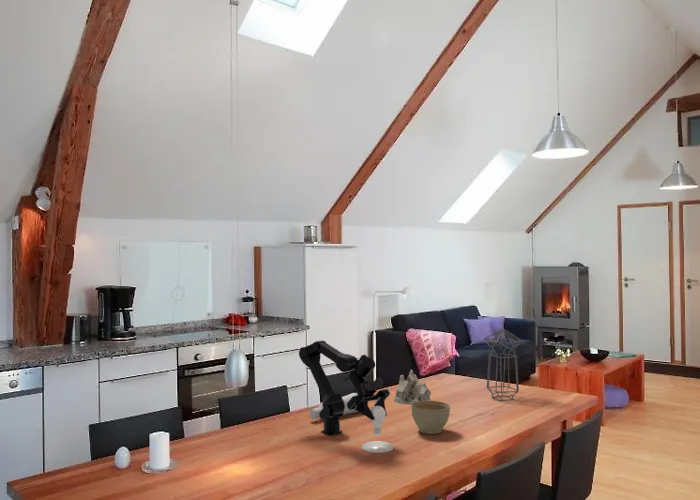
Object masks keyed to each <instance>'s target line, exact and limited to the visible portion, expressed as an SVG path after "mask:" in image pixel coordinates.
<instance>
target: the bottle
mask: <svg viewBox="0 0 700 500" xmlns="http://www.w3.org/2000/svg"><path fill="white" fill-rule="evenodd" d="M356 395H357V393H354V392H352V393H350V394H348V395H344V396H341V397H342V399H343V400H344V404H345V409H344V413H343V416H345V415H350V414H357V413H359V412H358V411H355V409H356V407H355V409H353V410H349V409H348V407H347V403H348V401H349V400H350V399H351V398H352V397H353V396H356ZM355 406H356V405H355ZM322 409H323V405H322V402H320V404H319V405H318V407H315V408H311V409H309V417H310V418H311V419H312V420H316V419H318V418H319V419H321V418H320V415H319V413H320V411H321V410H322Z"/></svg>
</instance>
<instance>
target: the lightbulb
mask: <svg viewBox="0 0 700 500" xmlns="http://www.w3.org/2000/svg"><path fill="white" fill-rule="evenodd" d="M369 409H370V411H371V412H372V414H373V416H374V420H371V419H370V420H371V421H370V422H372V426H373V434H374V435H376V436H379V435H381V434H382V432H381V431H382V426H383V422H384V421H385V419H386V417H387V416H386V414H387V411H386V412H385V410H384V409H383V408H382V407H381V406H374V405H373V406H372V407H371V408H369ZM385 416H386V417H385Z"/></svg>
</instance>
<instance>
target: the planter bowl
mask: <svg viewBox="0 0 700 500" xmlns="http://www.w3.org/2000/svg"><path fill="white" fill-rule="evenodd" d="M410 407H411V416H412V419H413V420H414V423H415V425H416V426H417V428H418V431H419V432H421V433H423V434H428V435H436V434H440V433H442V432H443V430H444V427H446V425H447V423H448V421H449V418H450V412H451V411H450V409H451V404H450V403H447V402H444V401H438V400H430V401H417V402H413V403H412V404H410Z"/></svg>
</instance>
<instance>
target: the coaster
mask: <svg viewBox="0 0 700 500" xmlns="http://www.w3.org/2000/svg"><path fill="white" fill-rule="evenodd" d="M361 449H362V450H363V451H365V452H368V453H373V454H384V453H388V452H392V451H393V450H394V444H393V443H390V442H387V441H381V440H379V441H377V440H376V441H375V440H373V441H368V442H365V443H363V444H362V445H361Z"/></svg>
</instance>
